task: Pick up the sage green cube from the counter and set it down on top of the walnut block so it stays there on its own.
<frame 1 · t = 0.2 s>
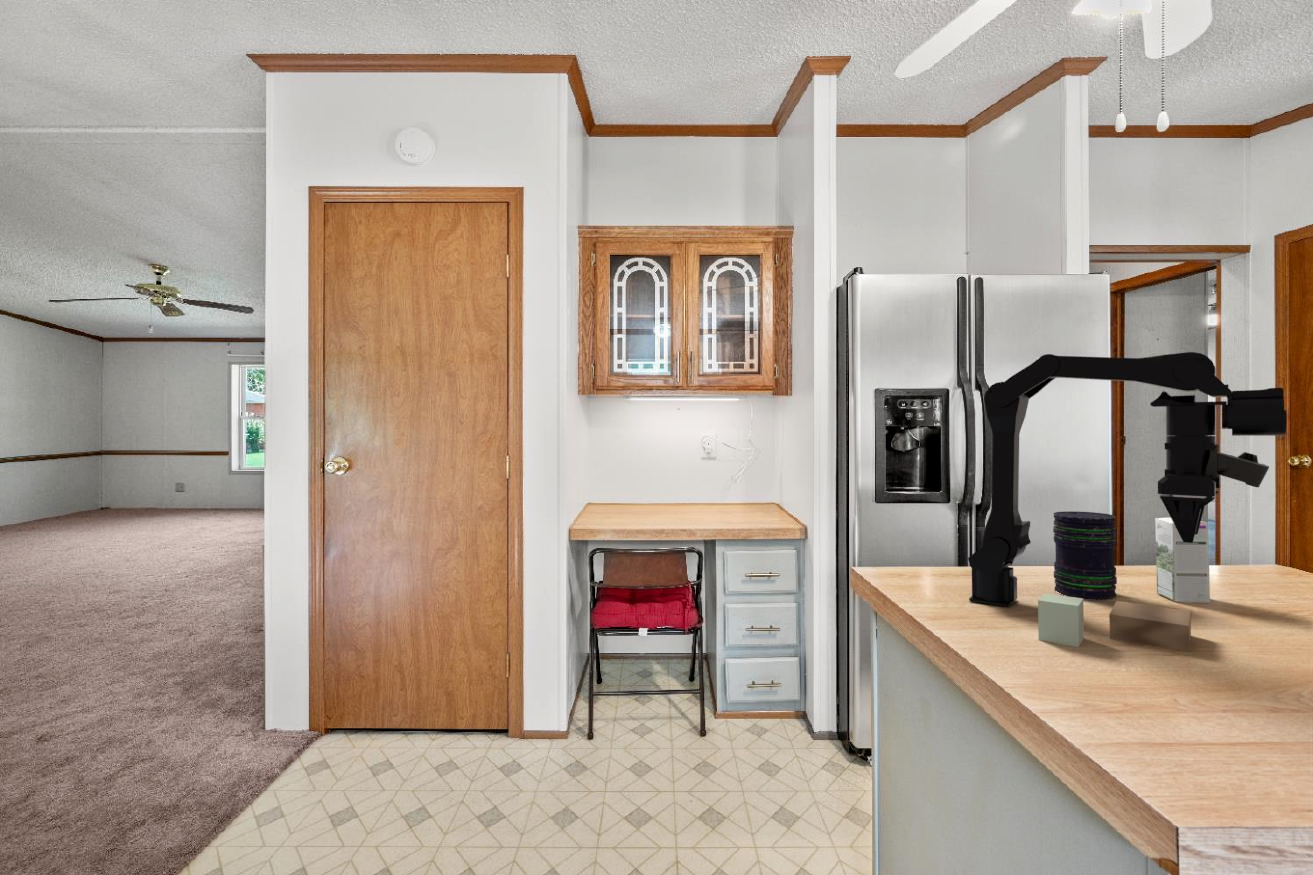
hand: (1190, 538, 95), 14 cm above the table, tool pointing down, fingers open, 9 cm apart
syrup box: (1182, 599, 113), on the table
storage jar: (1084, 594, 118), on the table
block: (1150, 639, 93), on the table
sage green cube: (1061, 639, 93), on the table
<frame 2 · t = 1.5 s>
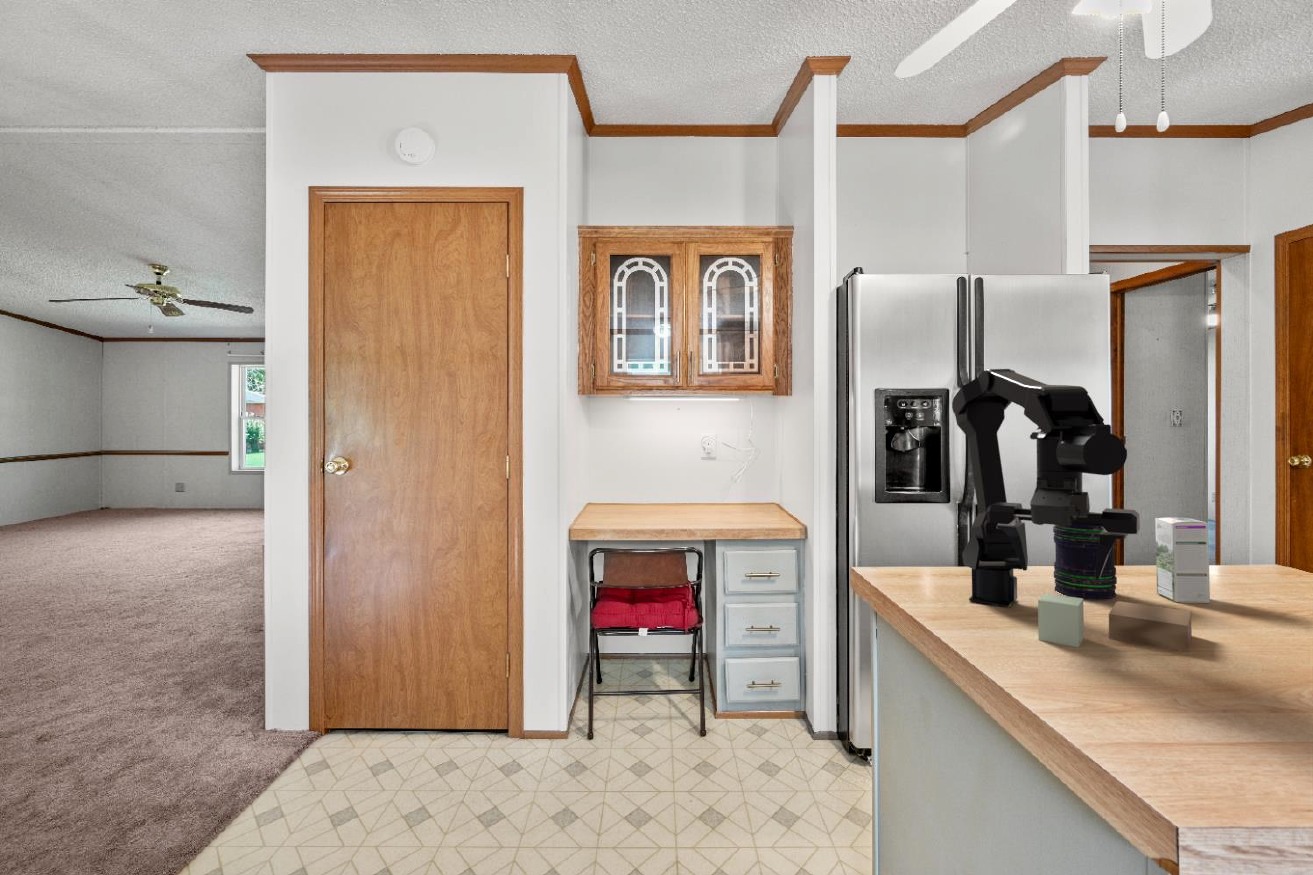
hand: (1060, 574, 93), 10 cm above the table, tool pointing down, fingers open, 9 cm apart
nothing on the table moved.
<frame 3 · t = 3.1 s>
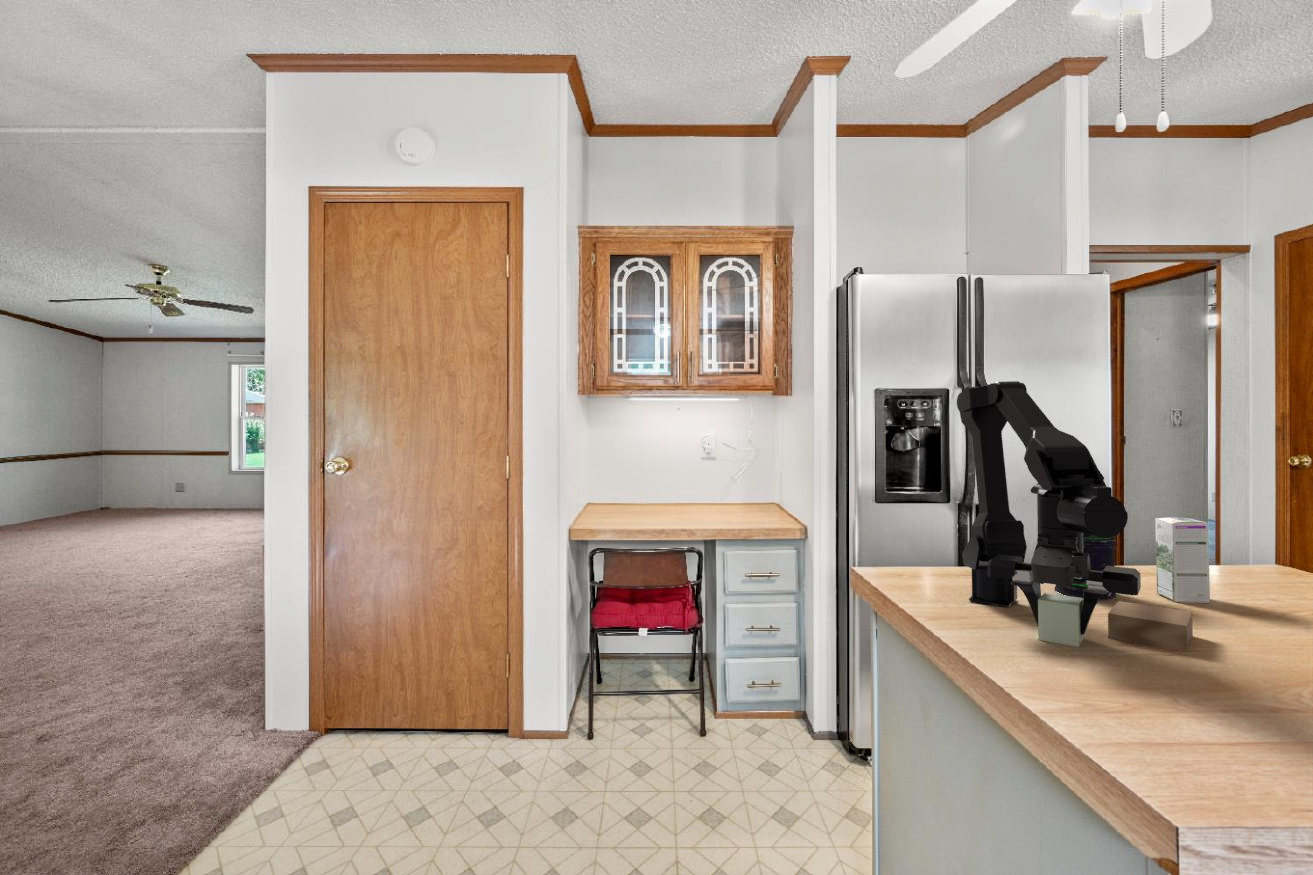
hand: (1061, 630, 93), 1 cm above the table, tool pointing down, fingers closed on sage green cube, 5 cm apart
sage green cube: (1061, 638, 93), on the table, touching gripper
everything else where it was.
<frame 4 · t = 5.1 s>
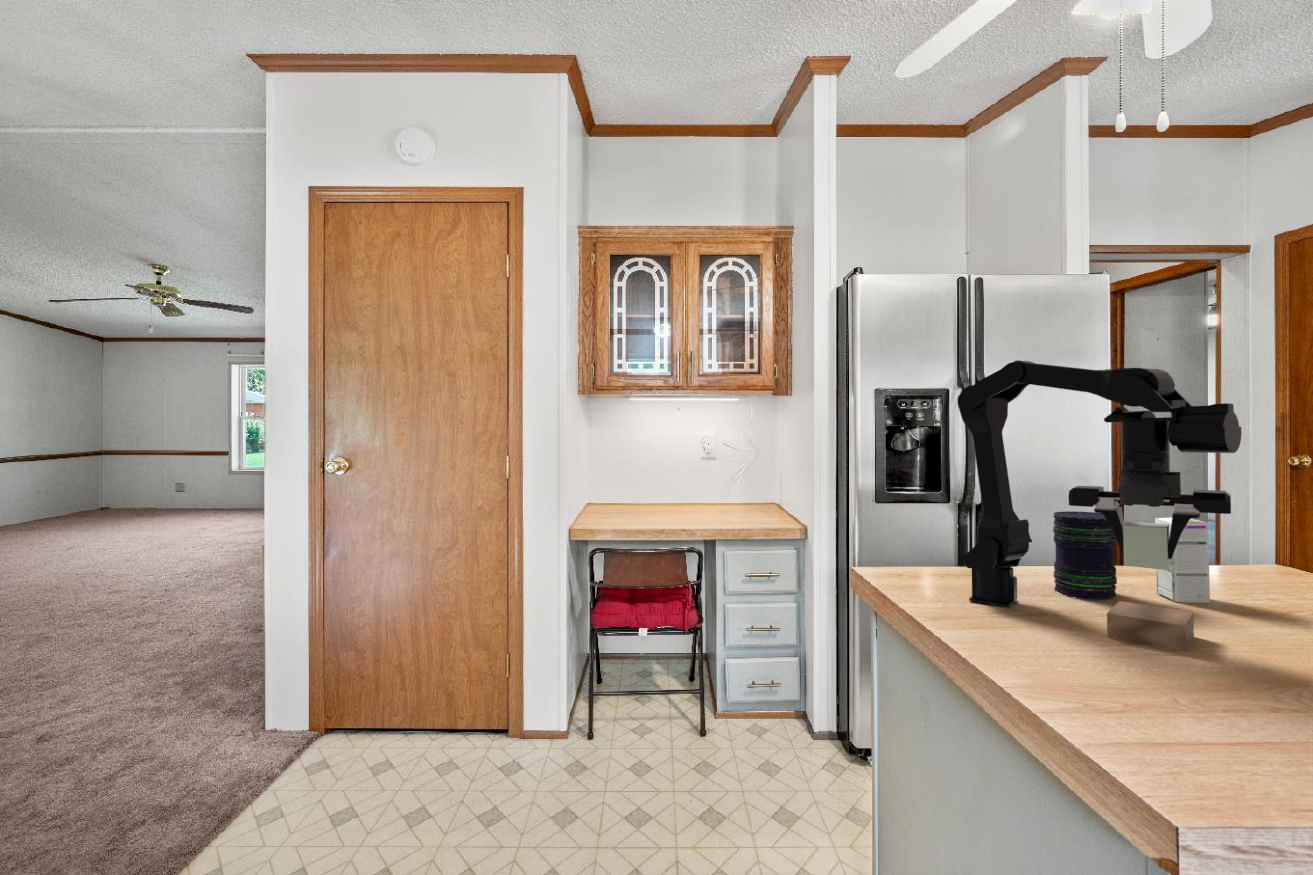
hand: (1146, 556, 93), 12 cm above the table, tool pointing down, fingers closed on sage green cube, 5 cm apart
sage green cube: (1146, 564, 93), point 11 cm above the table, touching gripper
everything else where it was.
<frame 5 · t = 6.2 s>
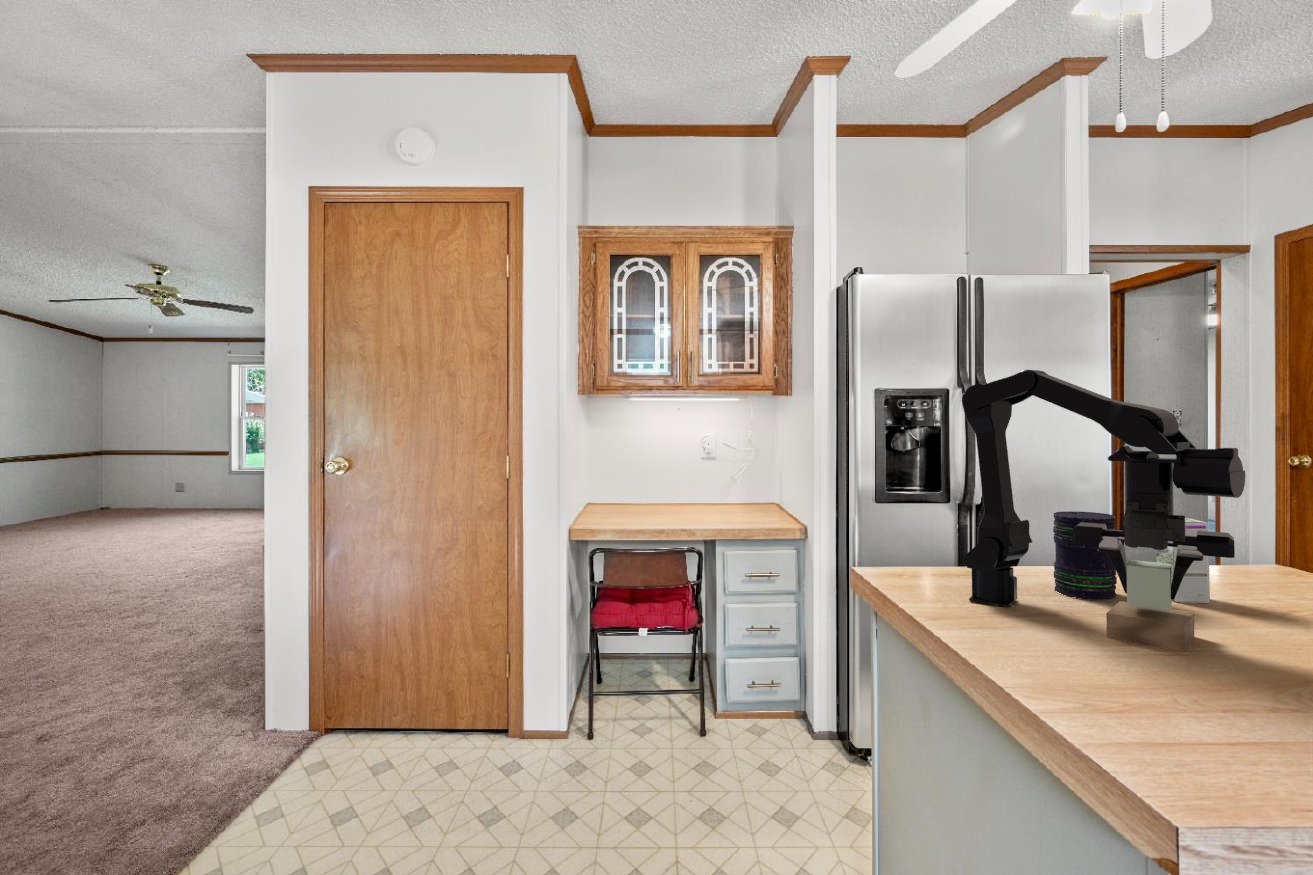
hand: (1149, 596, 93), 6 cm above the table, tool pointing down, fingers closed on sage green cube, 5 cm apart
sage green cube: (1149, 604, 93), point 5 cm above the table, touching gripper
everything else where it was.
when the fingers open (6 cm above the table, at t = 7.0 s): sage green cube stays where it is, point 4 cm above the table.
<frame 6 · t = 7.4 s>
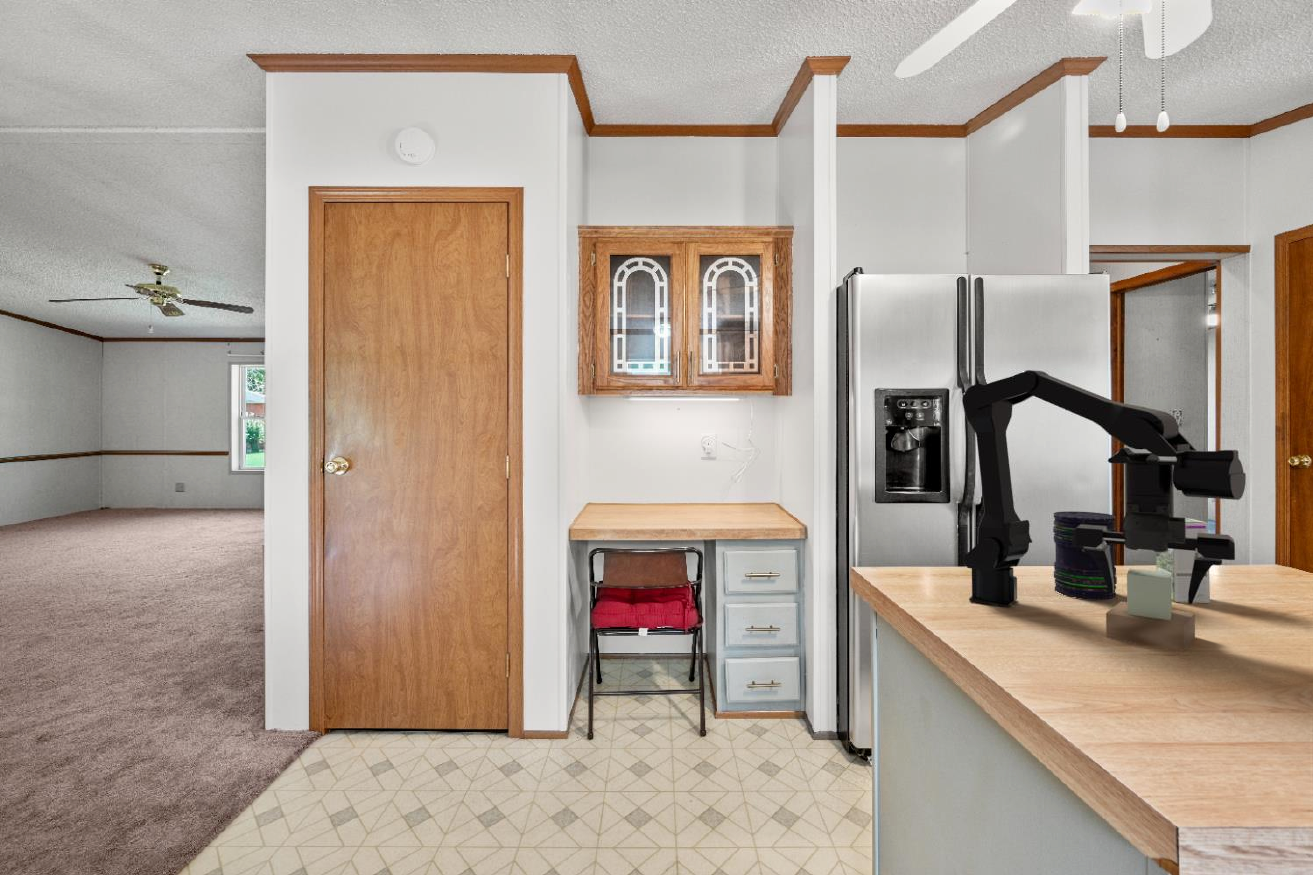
hand: (1149, 598, 93), 6 cm above the table, tool pointing down, fingers open, 9 cm apart
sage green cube: (1149, 613, 93), point 4 cm above the table
everything else where it was.
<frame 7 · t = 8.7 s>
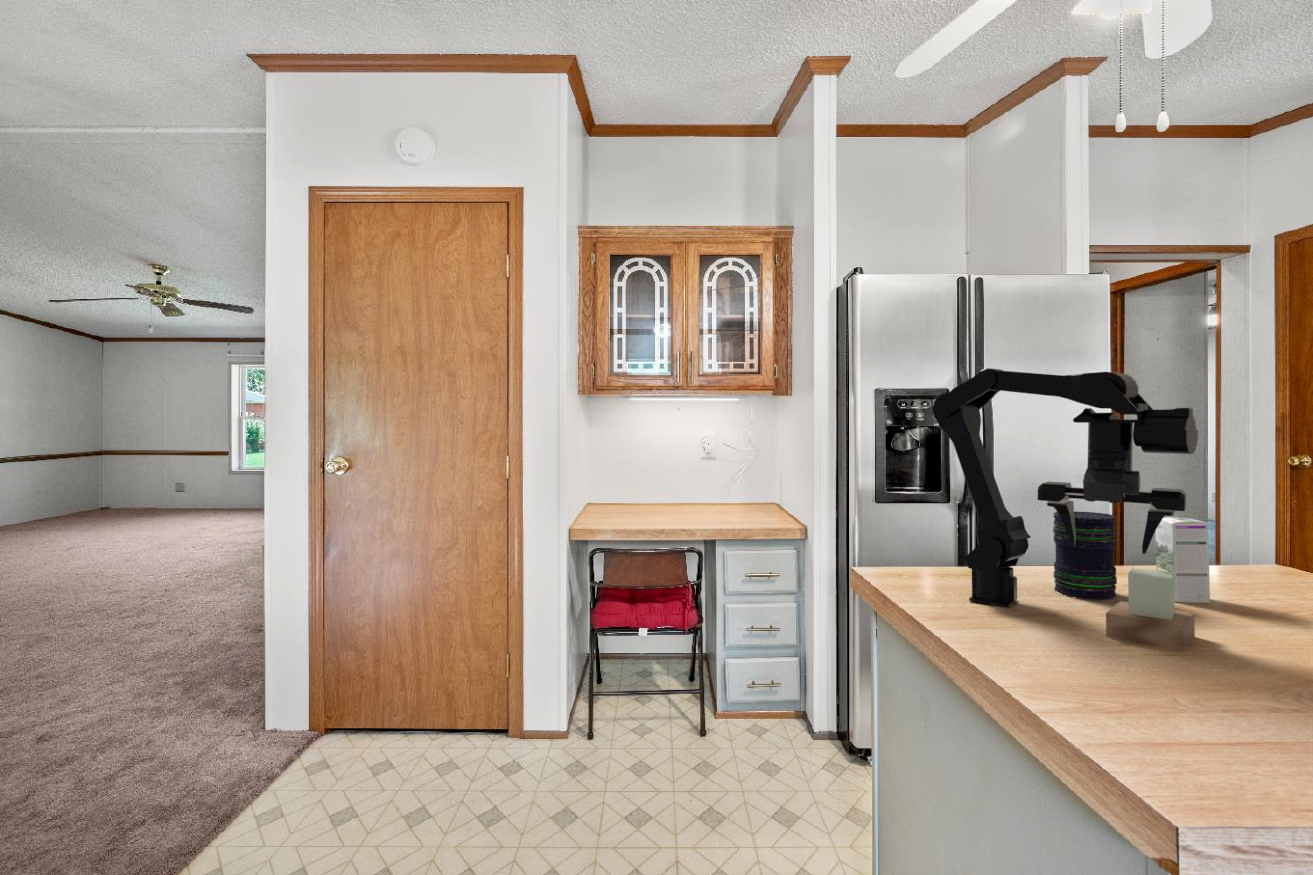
hand: (1107, 549, 99), 12 cm above the table, tool pointing down, fingers open, 9 cm apart
block: (1150, 639, 93), on the table, touching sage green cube
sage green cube: (1151, 613, 93), point 4 cm above the table, touching block
everything else where it was.
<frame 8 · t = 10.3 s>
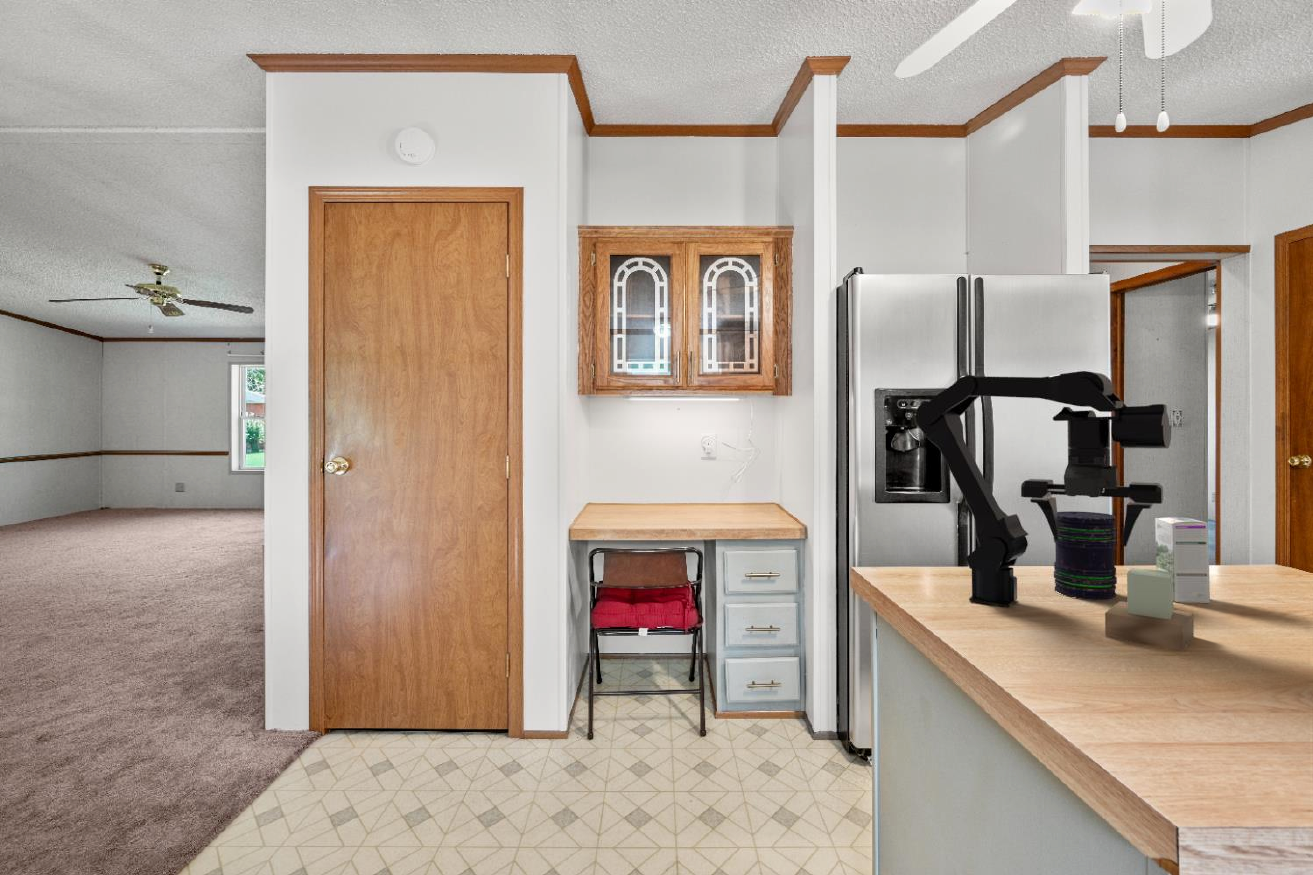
hand: (1089, 543, 102), 13 cm above the table, tool pointing down, fingers open, 9 cm apart
block: (1149, 639, 93), on the table
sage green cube: (1150, 612, 93), point 4 cm above the table
everything else where it was.
at the end: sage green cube 0.2 cm off-centre on the block, point 4.0 cm above the block's base; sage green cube tilted 0°; the gripper is holding nothing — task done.
